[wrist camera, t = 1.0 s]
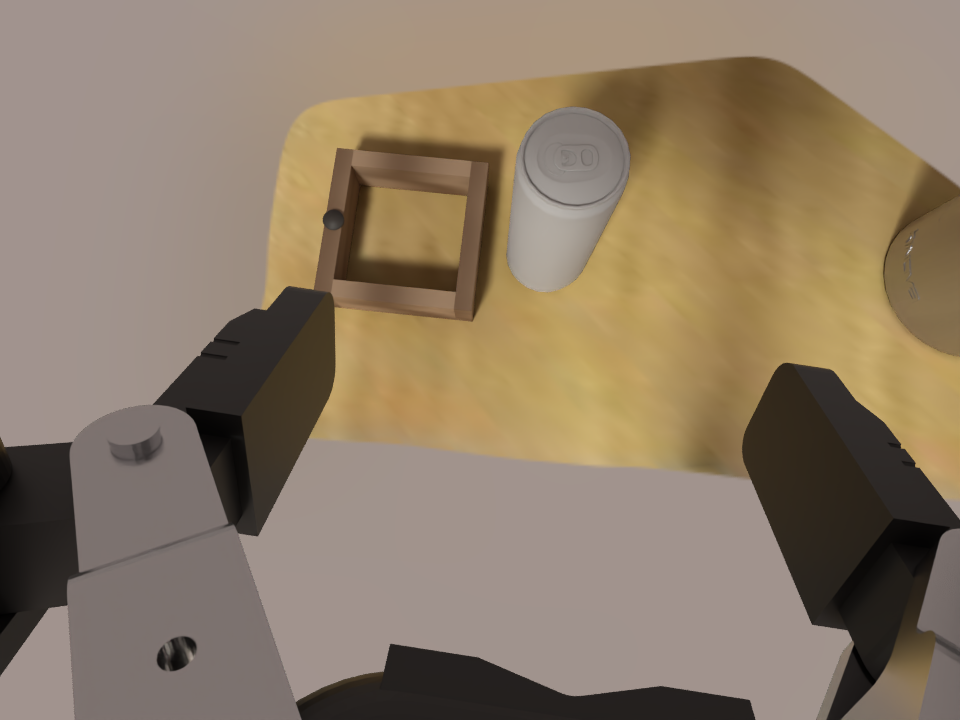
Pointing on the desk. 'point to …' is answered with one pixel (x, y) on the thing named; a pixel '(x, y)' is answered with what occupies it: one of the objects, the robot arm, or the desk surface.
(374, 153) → the collar
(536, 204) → the beverage can
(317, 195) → the desk surface
